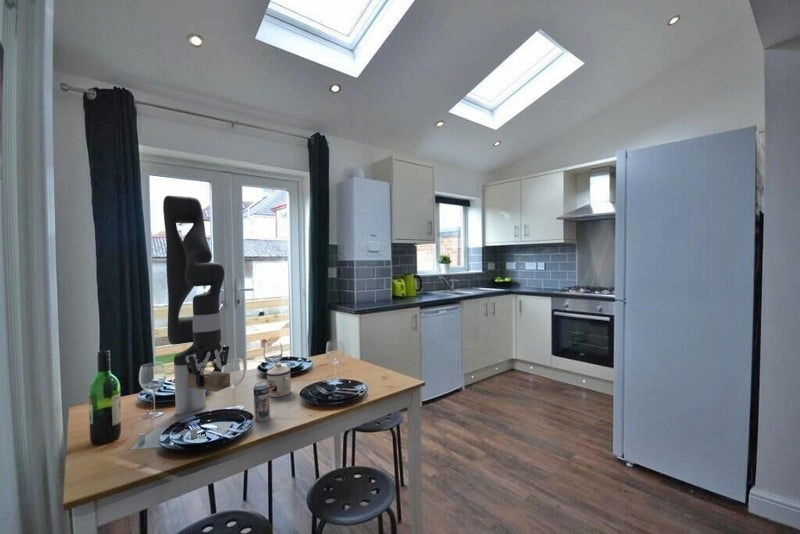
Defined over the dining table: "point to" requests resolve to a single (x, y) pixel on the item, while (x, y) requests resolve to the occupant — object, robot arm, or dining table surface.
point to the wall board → (153, 437)
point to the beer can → (261, 401)
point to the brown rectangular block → (211, 380)
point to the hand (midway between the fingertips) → (209, 383)
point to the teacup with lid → (279, 381)
